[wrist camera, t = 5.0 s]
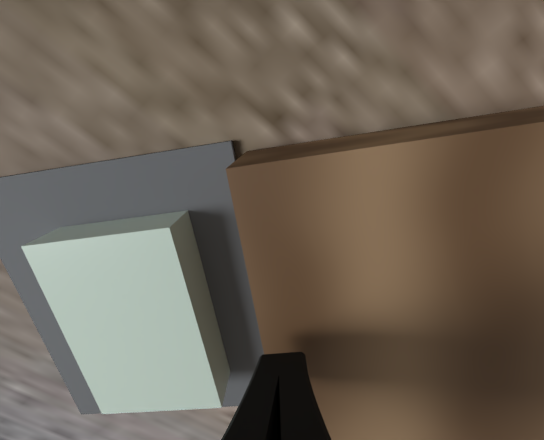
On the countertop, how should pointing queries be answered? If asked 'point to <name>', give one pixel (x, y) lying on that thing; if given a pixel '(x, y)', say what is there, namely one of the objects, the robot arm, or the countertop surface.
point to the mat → (129, 204)
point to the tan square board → (405, 274)
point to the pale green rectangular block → (135, 311)
